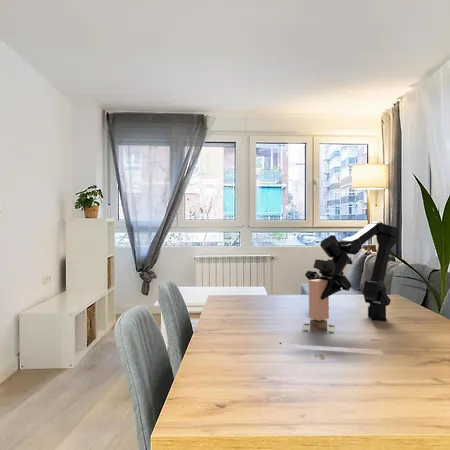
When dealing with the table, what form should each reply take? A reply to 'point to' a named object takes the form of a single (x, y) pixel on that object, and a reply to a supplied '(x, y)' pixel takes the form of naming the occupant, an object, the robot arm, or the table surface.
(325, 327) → the short brick
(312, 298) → the tall brick
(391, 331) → the table surface
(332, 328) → the baseplate
